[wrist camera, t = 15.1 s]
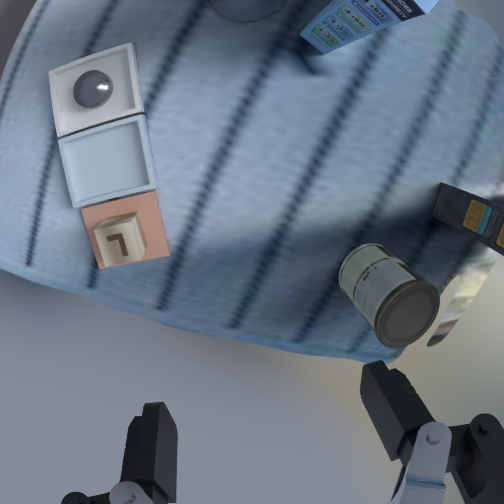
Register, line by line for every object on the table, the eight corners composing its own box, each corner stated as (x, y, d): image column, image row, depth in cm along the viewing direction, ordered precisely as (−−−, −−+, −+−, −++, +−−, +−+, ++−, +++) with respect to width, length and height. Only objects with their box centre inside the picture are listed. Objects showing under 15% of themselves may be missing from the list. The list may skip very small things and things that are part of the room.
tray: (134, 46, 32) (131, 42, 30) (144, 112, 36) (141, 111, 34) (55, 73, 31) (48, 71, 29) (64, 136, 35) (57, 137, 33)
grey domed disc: (110, 67, 32) (106, 64, 31) (115, 101, 34) (111, 100, 33) (76, 79, 32) (70, 77, 30) (81, 113, 34) (76, 112, 32)
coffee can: (397, 242, 49) (449, 280, 36) (384, 296, 53) (426, 343, 40) (343, 241, 47) (389, 284, 34) (332, 299, 51) (368, 353, 38)
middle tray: (144, 114, 36) (141, 114, 34) (158, 184, 40) (155, 188, 38) (64, 139, 35) (57, 140, 33) (79, 204, 39) (73, 208, 37)
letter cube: (138, 210, 40) (130, 221, 36) (147, 245, 42) (141, 260, 38) (104, 218, 40) (93, 230, 35) (114, 251, 42) (105, 267, 37)
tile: (155, 189, 40) (154, 191, 39) (170, 252, 44) (169, 255, 43) (83, 207, 40) (80, 209, 39) (101, 266, 43) (99, 269, 42)
